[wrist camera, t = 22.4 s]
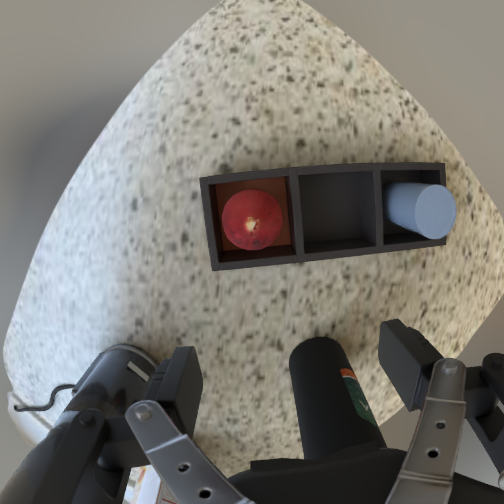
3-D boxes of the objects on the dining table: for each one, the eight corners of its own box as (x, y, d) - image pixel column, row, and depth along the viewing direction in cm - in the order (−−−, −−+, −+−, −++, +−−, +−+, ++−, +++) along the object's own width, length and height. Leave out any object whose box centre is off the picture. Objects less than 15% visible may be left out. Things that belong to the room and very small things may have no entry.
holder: (218, 257, 34) (212, 271, 29) (207, 177, 32) (199, 177, 27) (424, 235, 33) (446, 245, 29) (422, 163, 31) (445, 162, 26)
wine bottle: (297, 332, 37) (354, 574, 8) (352, 340, 37) (450, 544, 8) (282, 378, 38) (306, 593, 9) (333, 384, 39) (392, 576, 10)
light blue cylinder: (377, 224, 33) (414, 241, 24) (375, 181, 31) (413, 185, 23) (413, 221, 32) (456, 237, 24) (412, 180, 31) (456, 184, 22)
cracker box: (168, 475, 46) (148, 558, 25) (141, 462, 45) (114, 545, 25) (203, 449, 43) (186, 551, 23) (172, 434, 42) (144, 537, 22)
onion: (281, 239, 33) (289, 258, 25) (228, 243, 33) (220, 264, 25) (277, 185, 32) (285, 188, 24) (223, 190, 32) (213, 194, 24)
